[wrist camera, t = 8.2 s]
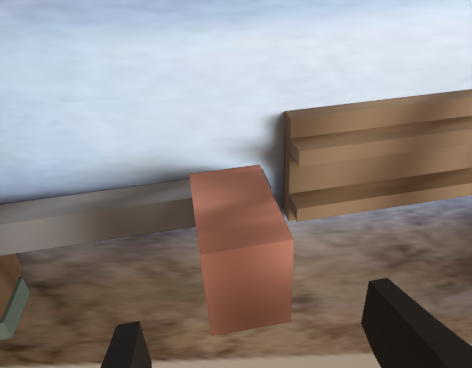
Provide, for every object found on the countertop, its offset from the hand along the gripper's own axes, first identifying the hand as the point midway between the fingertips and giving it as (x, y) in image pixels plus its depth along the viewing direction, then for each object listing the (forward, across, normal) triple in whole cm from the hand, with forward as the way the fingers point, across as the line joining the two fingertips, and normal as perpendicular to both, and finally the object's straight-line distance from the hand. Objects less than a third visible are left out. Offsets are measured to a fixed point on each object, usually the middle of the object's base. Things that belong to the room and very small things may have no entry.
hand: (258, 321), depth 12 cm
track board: (+9, -10, 0) cm, 14 cm away
